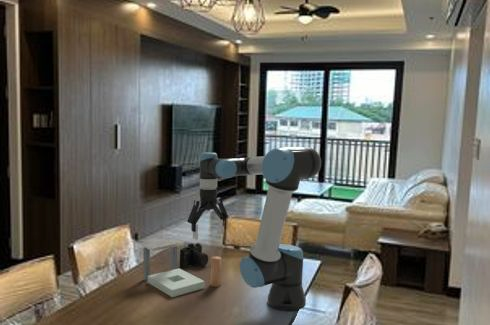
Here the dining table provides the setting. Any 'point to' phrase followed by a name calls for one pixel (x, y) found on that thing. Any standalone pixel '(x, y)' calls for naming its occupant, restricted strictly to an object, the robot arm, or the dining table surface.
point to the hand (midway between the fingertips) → (208, 236)
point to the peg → (216, 271)
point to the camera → (192, 256)
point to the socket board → (176, 282)
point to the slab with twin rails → (158, 246)
